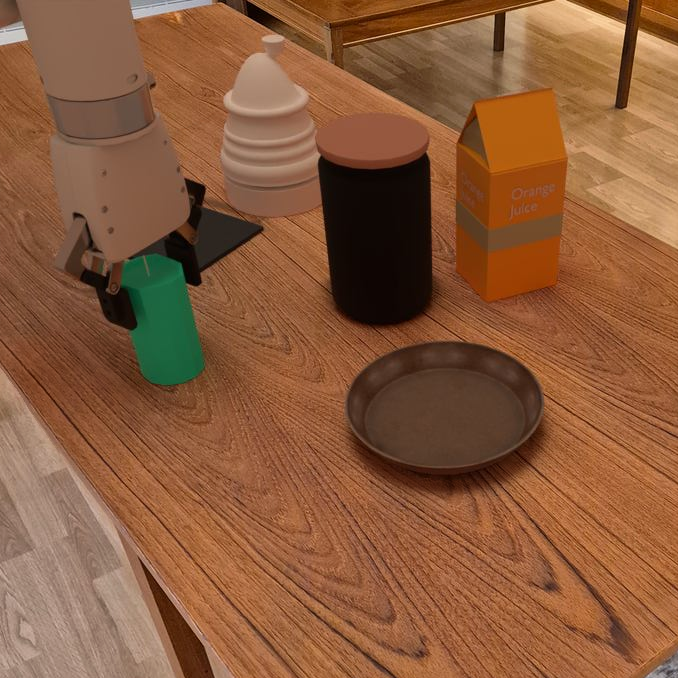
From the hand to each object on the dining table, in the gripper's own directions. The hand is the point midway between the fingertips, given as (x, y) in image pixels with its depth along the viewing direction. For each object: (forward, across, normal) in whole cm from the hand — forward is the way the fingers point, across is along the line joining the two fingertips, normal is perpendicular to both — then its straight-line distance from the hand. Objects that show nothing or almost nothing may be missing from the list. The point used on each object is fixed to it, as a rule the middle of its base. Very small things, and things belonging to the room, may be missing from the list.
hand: (156, 301), depth 81 cm
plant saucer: (+8, -6, +27) cm, 29 cm away
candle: (+7, 0, 0) cm, 7 cm away
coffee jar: (+8, -20, +11) cm, 24 cm away
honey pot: (+7, -34, -14) cm, 38 cm away
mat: (+7, -19, -16) cm, 26 cm away
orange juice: (+8, -31, +20) cm, 38 cm away
